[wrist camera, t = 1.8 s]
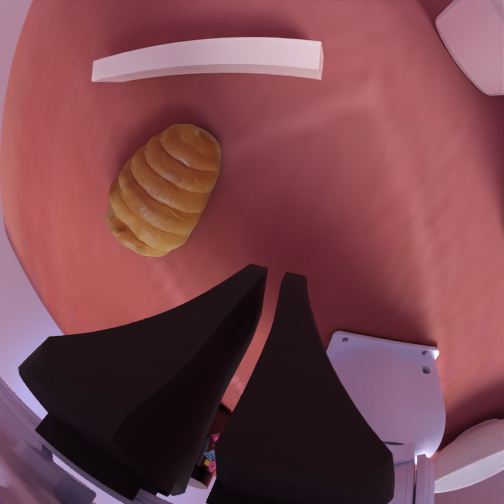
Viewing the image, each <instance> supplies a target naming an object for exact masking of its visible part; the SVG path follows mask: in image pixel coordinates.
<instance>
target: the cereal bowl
mask: <svg viewBox="0 0 504 504" xmlns="http://www.w3.org/2000/svg"><path fill="white" fill-rule="evenodd" d="M433 463H434V475H435V492H434V493H441V492H447V491H452V490H456V489H460V488H463V487H466V486H469V485H472V484H475V483H477V482H480V481H482V480H484V479H486V478H488V477H491V476H493V475H494V474H497V473H498V472H500V471H502V470H504V419H501V420H500V419H490V420H487V421H484V422H481V423H479V424H477V425H475V426H473V427H471V428H469V429H467V430H466V431H464V432H463V433H461V434H460V435H459V436H458V437H457V438H456V439H455V440H454V441H453V442H452V443H450V444H449V445H448V446H446V447H445V448H443V449H442V450H441V451H440V452H439V453H438V454H437V455H436V456H435V458H434V459H433Z"/></svg>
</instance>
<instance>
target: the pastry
mask: <svg viewBox="0 0 504 504" xmlns="http://www.w3.org/2000/svg"><path fill="white" fill-rule="evenodd" d="M221 157H222V153H221V148H220V145H219V142H218V141H217V140H216V139H215V138H214V137H213V136H212V135H211V134H210V133H209V132H208V131H206V130H204V129H201V128H199V127H197V126H195V125H193V124H189V123H186V124H173V125H171V126H170V127H169V128H168V129H166V130H165V131H163V132H162V133H161V134H159V135H157V136H154V137H152V138H151V139H150V141H149V142H148V143H147V144H146V145H145V146H143V147H141V148H140V149H139V150H138V151H137V152H136V153H135V154H134V156H133V157H131V158H130V159H129V160H127V161H126V163H125V164H124V166H123V169H122V170H121V172H120V174H119V177H118V179H117V180H115V181H113V182H112V184H111V187H110V190H109V195H108V197H109V200H110V203H109V211H108V214H107V217H106V219H107V224H108V226H109V228H110V230H111V232H112V234H113V235H114V236H115V237H116V238H117V239H118V241H119V242H120V243H121V244H122V245H123V246H125V247H127V248H130V249H133V250H134V251H135V252H136V253H138V254H141V255H145V256H154V257H161V256H165V255H167V254H168V253H169V252H170V251H171V250H173V249H175V248H178V247H180V246H181V245H183V244H184V243H185V242H186V241H187V239H188V238H189V236H190V234H191V232H192V231H193V229H194V228H195V226H196V225H197V223H198V222H199V220H200V218H201V216H202V214H203V211H204V209H205V207H206V204H207V202H208V200H209V197H210V195H211V192H212V190H213V188H214V185H215V183H216V181H217V178H218V176H219V173H220V166H221Z"/></svg>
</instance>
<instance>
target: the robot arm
mask: <svg viewBox="0 0 504 504" xmlns="http://www.w3.org/2000/svg"><path fill="white" fill-rule="evenodd" d="M267 271H268V268H267V267H263V266H258V265H254V264H249V265H248V266H246V267H245V268H243V269H241V270H240V271H238V272H237V273H235V274H234V275H232V276H231V277H229V278H228V279H226V280H225V281H223V282H222V283H220V284H218V285H217V286H215V287H214V288H212V289H210V290H209V291H207V292H205V293H203V294H201V295H199V296H198V297H196V298H194V299H192V300H190V301H188V302H186V303H184V304H182V305H180V306H178V307H175V308H173V309H171V310H168V311H166V312H163V313H161V314H158V315H155V316H152V317H149V318H146V319H143V320H140V321H136V322H133V323H130V324H127V325H123V326H119V327H115V328H110V329H105V330H100V331H95V332H89V333H82V334H73V335H63V336H50V337H48V338H47V339H46V340H45V341H44V342H43V343H42V344H41V345H40V346H39V347H38V348H37V349H36V350H35V351H34V352H33V353H32V354H31V355H30V356H29V357H28V358H27V359H26V360H25V361H24V362H23V363H22V364H21V365H20V366H19V367H18V368H19V375H20V377H21V378H22V380H23V381H24V383H25V384H26V386H27V387H28V388H29V390H30V391H31V392H32V394H33V395H34V396H35V397H36V399H37V400H38V401H39V402H40V404H41V405H42V406H43V407H44V408H45V410H46V411H47V412H48V414H47V415H46V416H45V418H44V419H43V420H41V419H40V418H39V417H38V416H37V415H36V414H35V413H34V412H33V411H32V410H31V409H29V407H28V406H27V405H26V404H25V403H24V402H23V401H22V400H21V399H20V398H19V397H18V396H17V395H16V394H15V393H14V392H13V391H12V390H11V389H10V387H8V385H7V384H6V383H5V382H4V381H3V380H2V379H1V377H0V504H95V503H94V502H92V501H93V500H94V498H95V497H96V493H95V492H94V491H93V490H91V489H90V488H89V487H87V486H86V485H85V484H84V483H82V482H81V481H79V480H78V479H77V478H75V477H74V476H73V475H71V474H69V473H68V472H67V471H65V470H64V469H63V468H61V467H60V466H59V465H57V464H56V463H55V462H54V461H53V455H52V453H53V454H54V455H55V456H57V457H58V458H59V459H60V460H61V461H63V462H64V463H65V464H66V465H68V466H69V467H70V468H72V469H73V470H74V471H75V472H77V473H78V474H80V475H81V476H82V477H84V478H85V479H87V480H88V481H90V482H91V483H92V484H94V485H95V486H97V487H98V488H100V489H101V490H103V491H104V492H106V493H108V494H109V495H111V496H112V497H114V498H116V499H117V500H119V501H121V502H123V503H124V504H172V503H170V502H168V501H166V500H163V499H161V498H159V497H157V496H156V494H157V493H160V494H162V495H165V496H167V497H168V496H169V494H170V495H172V496H175V495H180V494H183V493H185V490H186V488H187V485H188V482H189V480H190V477H191V475H192V472H193V469H194V467H195V464H196V462H197V459H198V456H199V454H200V451H201V449H202V446H203V444H204V441H205V439H206V436H207V434H208V431H209V429H210V426H211V424H212V421H213V419H214V417H215V414H216V412H217V409H218V407H219V404H220V402H221V400H222V397H223V395H224V393H225V391H226V389H227V387H228V385H229V383H230V381H231V379H232V377H233V375H234V374H235V372H236V370H237V368H238V366H239V364H240V362H241V360H242V358H243V357H244V355H245V353H246V351H247V349H248V347H249V345H250V343H251V341H252V339H253V336H254V334H255V331H256V328H257V325H258V323H259V320H260V317H261V313H262V306H263V299H264V293H265V286H266V279H267ZM343 338H347V339H343ZM423 351H424V352H423ZM438 355H439V349H438V348H437V347H431V346H424V345H418V344H411V343H405V342H398V341H392V340H387V339H381V338H375V337H370V336H364V335H359V334H354V333H349V332H344V331H336V332H335V333H334V334H333V336H332V338H331V341H330V343H329V346H328V348H327V351H325V348H324V346H323V343H322V341H321V338H320V335H319V333H318V330H317V327H316V324H315V321H314V317H313V314H312V310H311V306H310V302H309V297H308V291H307V279H306V277H305V276H303V275H298V274H294V273H289V272H286V273H285V275H284V277H283V279H282V282H281V287H280V292H279V297H278V302H277V307H276V312H275V316H274V321H273V324H272V328H271V331H270V333H269V336H268V338H267V340H266V343H265V345H264V348H263V350H262V352H261V355H260V357H259V359H258V362H257V364H256V366H255V368H254V370H253V373H252V375H251V377H250V379H249V381H248V383H247V385H246V387H245V389H244V391H243V393H242V395H241V397H240V399H239V401H238V403H237V405H236V407H235V409H234V411H233V412H232V414H231V416H230V418H229V420H228V421H227V423H226V425H225V427H224V429H223V430H222V432H221V434H220V436H219V437H218V439H217V441H216V442H215V444H214V449H215V463H216V476H217V478H216V480H215V483H214V485H213V487H212V489H211V492H210V494H209V496H208V498H207V501H206V503H207V504H434V492H435V475H434V463H433V460H432V459H431V458H430V457H431V456H432V455H433V454H434V453H435V451H436V450H437V448H438V447H439V445H440V443H441V440H442V437H443V434H444V429H445V422H446V413H445V406H444V400H443V394H442V389H441V384H440V379H439V375H438V370H437V366H436V362H435V359H436V357H437V356H438ZM416 464H417V469H416V484H415V465H416Z"/></svg>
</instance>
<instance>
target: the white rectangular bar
mask: <svg viewBox="0 0 504 504" xmlns="http://www.w3.org/2000/svg"><path fill="white" fill-rule="evenodd" d="M323 58H324V55H323V50H322V44H321V42H319V41H310V40H300V39H288V38H267V37H235V38H214V39H202V40H192V41H184V42H176V43H169V44H163V45H157V46H152V47H147V48H142V49H137V50H133V51H128V52H124V53H120V54H116V55H113V56H109V57H106V58H102V59H99V60H96V61H93V70H92V82H124V81H130V80H137V79H144V78H151V77H160V76H169V75H181V74H197V73H257V74H274V75H286V76H295V77H304V78H312V79H319V80H321V79H322V69H323Z"/></svg>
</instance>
